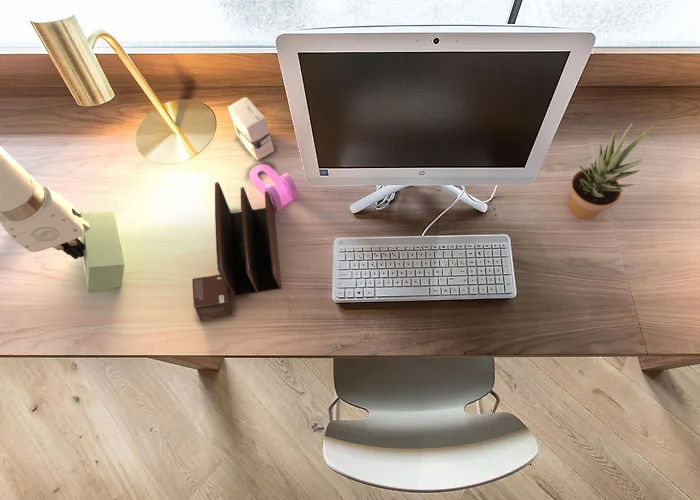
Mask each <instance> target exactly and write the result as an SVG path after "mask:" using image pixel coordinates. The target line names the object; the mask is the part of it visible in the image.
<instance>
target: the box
mask: <svg viewBox="0 0 700 500" xmlns="http://www.w3.org/2000/svg"><path fill="white" fill-rule="evenodd" d="M191 283H192V296H193V297H192V298H193V308H194V309H195V312H196V314H197V316H198V318H199V320H200V322H205V321H209V320H213V319H215V320H216V319H218V318H224V317H228V316H231V315H232V301H231V293H230V291H229V290H228V288H227V286H226V284H225V283H224V281H223V279H222V277H221V275H220V274H215V275H208V276H201V277H194V278H193V277H192V282H191Z"/></svg>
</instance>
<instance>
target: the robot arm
mask: <svg viewBox="0 0 700 500" xmlns="http://www.w3.org/2000/svg"><path fill="white" fill-rule="evenodd" d="M81 217H82V216H81V212H80V211H79V210H78V209H77V208H76V207H75V206H74V205H73V204H72V203H71V202H69V201H68V200H67V199H66V198H64V197H63V196H62V195H60V194H59V193H57V192H55V190H53V189H50V188H49V187H47V186H41V185H40V184H39V183H38V182H37V180H36V179H35V178H34V177H32V176H31V175H30V174H29V173H28V172H27V171H26V170H25V169H24V168H23V167H22V166H21V165H20V164H19V163H18V162H17V161H16V160H15V159H14V158H13V157H12V156H11V155H10V154H9V153H8V152H7V151H6V150H5V149H4V148H3V147H2V146H0V226H1V227H2V228H3V229H4V230H5V231H6V233H7V234H8V236H10V238H12V240H14V241H15V242H16V243H17V244H18V245H20V246H21V247H22V248H23V249H24V250H26V251H28V252H30V253H37V252H41V251H45V250H48V249H51V248H53V249H55V250H57V251H62V252H64V253H65V254H66V255H67V256H70V257H71V258H72V259H74V260H77V259H79V258H82V257H83V256H84V255H83V250H84V249H85V248H84V244H83V243H82V242H81V241H80V237H81V236H82V235H83V234H84V232H86V231H88V230H89V229H90V226H89V222H87V221H85V220H83V219H82V218H81Z"/></svg>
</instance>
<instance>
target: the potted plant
mask: <svg viewBox="0 0 700 500" xmlns="http://www.w3.org/2000/svg"><path fill="white" fill-rule="evenodd" d="M633 125H634V123H633V122H631V123H630V124H629V126H628V127H627V128H626V130H625V131H624V133H623V134H622V137H620V138H621V139H620V140H619V142H618V143H617V146H616V148H615V139H616V131H617V130H616V128H615V129H613V133H612V134H611V138H610V141H609V144H606V145H605V149H604V150H603V146H602V145H603V144H600V145H599V148H598V154H597V160H596V159H594V162H593V163H592V162H591V163H590V166H588V168H584V167H582V165H579V168H580V170H579V171H577V172H576V173H575V174H574V175H573V176H572V178H571V180H570V181H569V185H568V187H569V189H568V190H569V191H568V192H569V197H568V202H567V203H568V204H567V205H568V208H569V211H570V213H571V214H572V215H573V216H574V217H576V218H578V219H581V220H582V219H583V220H590V219H592V218H595V217H596V216H597V215H598V214H600V213H601V212H603V211H606V210H609V209H611V208H613V207H614V206H615V205H616V204H617V203H618V202H619V200H620V198H621V196H622V191H624V189H623V188H628V187H631V186H634V183H629V184H620V183H619V182H618V180H621V179H624V178H627V177H630V176H632V175H635V174H637V173H638V172H639V171H640V169H637V170H632V171H631V170H630V171H628V170H629V169H631V168H634V167H636V166H637V165H639V163H641V162H642V161H643V159H639V160H637V161H633V162H630V163H626V164H622V163H623V162H624V160H625V159H627V157H628V155H629V154H630V153H631V152H632V151H633V149H635V147H636V146H637V145H638V144H639V143H640V142H641V141H642V140H643V139H644V138H645V137H646V135H647V134H648V133H649V132H650V131H651V129H652V128H653V126H654V125H653V124H652V125H650V126H649V127H648V128H647V129H646V130H644V131H643V132H641V134H640V135H638V136H637V137H636V138H635V139H634V140H633V141H632V142H631V143H630V144H629V145H628V146H627V147H626V148H624V149H623V150H622V151H621V148H622V146H623V144H624V142H625V140H626V138H627V136H628V134H629V132H630V130H631V128H632V126H633ZM603 151H604V152H603Z"/></svg>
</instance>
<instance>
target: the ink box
mask: <svg viewBox="0 0 700 500" xmlns="http://www.w3.org/2000/svg"><path fill="white" fill-rule="evenodd" d="M227 108H228V111H229V114H230V117H231V120H232V123H233V125H234V129H235V131H236V134H237V138H238V140H239V141H240V142H241V144H242V145H243V146H244V147H245V149H247V150H248V152H249V153H250V154H251V155H252V157H254V159H255V160H257V161H259V160H261V159H263V158H264V157H266V156H268V155H270V154H271V153H273V152H275V148H274V144H273V141H272V137H271V134H270V130H269V127H268V122H267V119H266V118H265V116H264V115H263V113H262V112H261V111H260V110H259V109H258V108H257V106H256V105H254V103H253V102H252V101H251V100H250V99H249V98H248V97H247V96H244V97H242V98H240V99H238V100H237V101H234V102H233V103H231V104H229V105H228V106H227Z"/></svg>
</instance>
